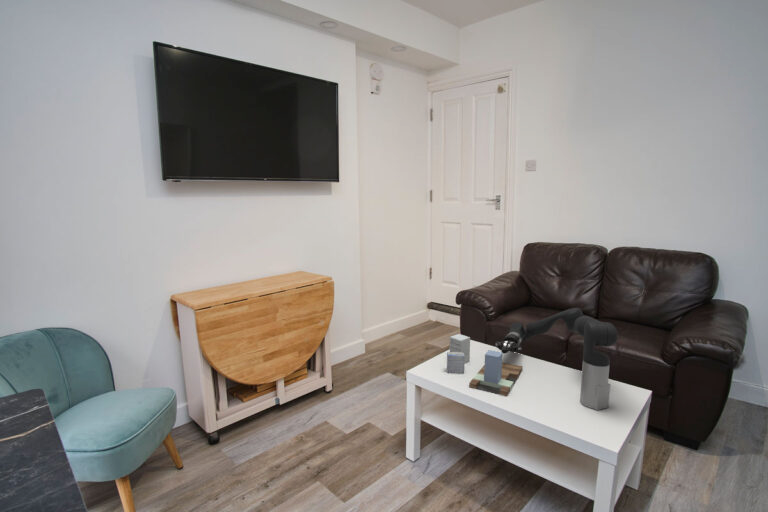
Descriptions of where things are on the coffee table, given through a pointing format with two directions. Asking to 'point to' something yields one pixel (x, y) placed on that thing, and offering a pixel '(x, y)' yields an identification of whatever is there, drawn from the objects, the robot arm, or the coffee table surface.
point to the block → (493, 366)
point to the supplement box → (460, 345)
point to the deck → (508, 373)
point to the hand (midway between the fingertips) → (504, 351)
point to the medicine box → (455, 362)
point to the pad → (499, 385)
